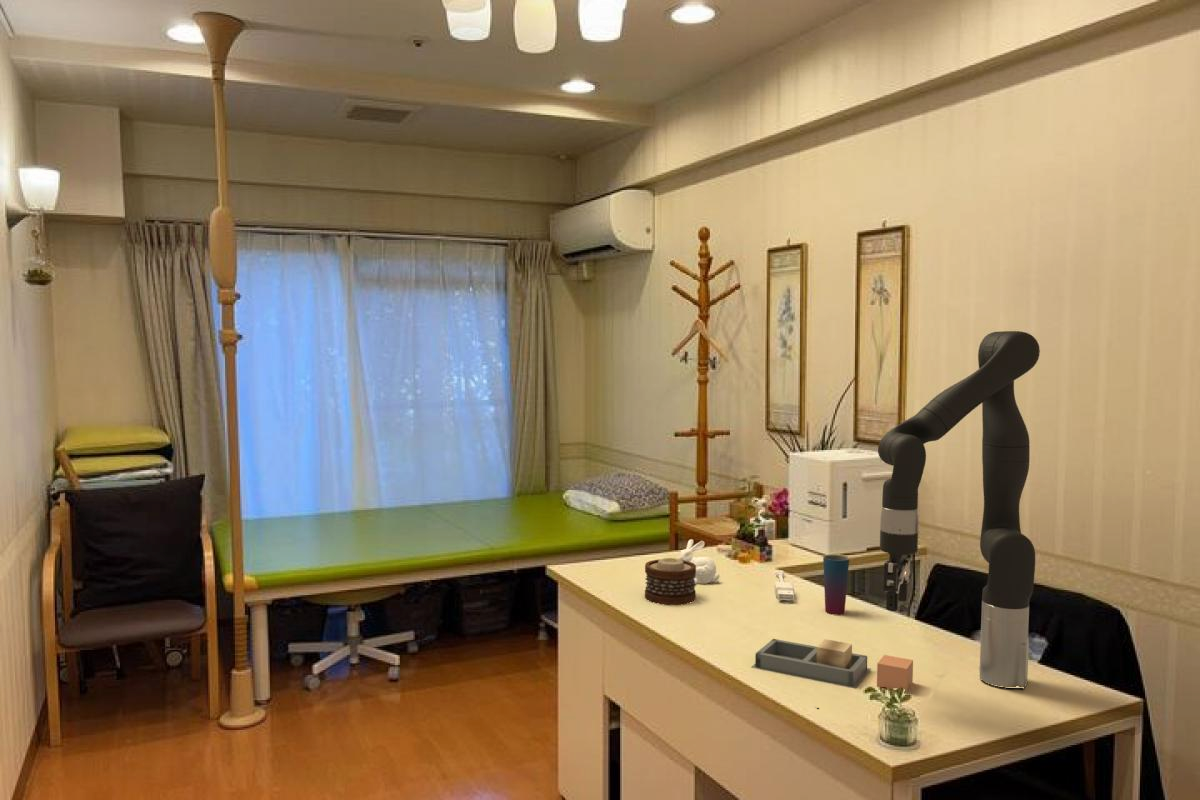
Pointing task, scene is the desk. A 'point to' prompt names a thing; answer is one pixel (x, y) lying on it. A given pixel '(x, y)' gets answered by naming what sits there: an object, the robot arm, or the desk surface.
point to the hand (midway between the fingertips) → (896, 605)
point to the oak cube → (835, 654)
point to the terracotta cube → (894, 672)
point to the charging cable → (783, 588)
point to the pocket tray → (808, 664)
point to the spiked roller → (670, 581)
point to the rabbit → (700, 564)
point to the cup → (835, 582)
